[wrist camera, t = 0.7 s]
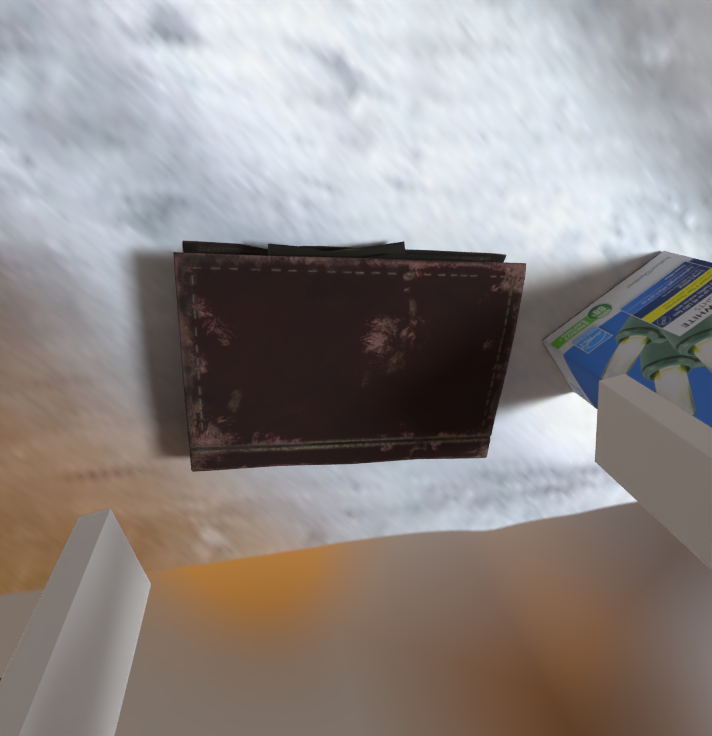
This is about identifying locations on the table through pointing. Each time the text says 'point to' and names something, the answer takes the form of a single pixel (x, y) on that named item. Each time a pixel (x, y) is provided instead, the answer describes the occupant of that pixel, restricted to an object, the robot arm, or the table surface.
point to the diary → (341, 352)
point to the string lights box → (646, 335)
